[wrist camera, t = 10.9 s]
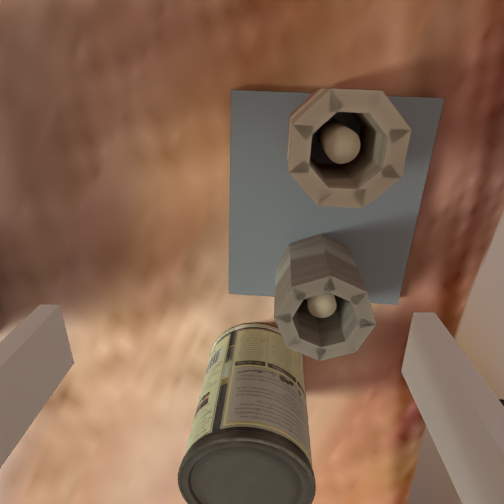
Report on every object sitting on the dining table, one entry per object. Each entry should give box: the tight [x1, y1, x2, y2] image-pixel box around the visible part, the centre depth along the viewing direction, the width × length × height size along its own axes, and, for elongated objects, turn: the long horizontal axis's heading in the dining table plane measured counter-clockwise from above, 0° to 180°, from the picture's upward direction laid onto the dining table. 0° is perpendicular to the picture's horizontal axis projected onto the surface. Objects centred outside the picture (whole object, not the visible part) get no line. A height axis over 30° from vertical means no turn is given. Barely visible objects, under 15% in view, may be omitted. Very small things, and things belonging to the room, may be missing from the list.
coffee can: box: [178, 323, 316, 504], centre depth 34 cm, size 10×10×14 cm
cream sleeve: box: [287, 88, 411, 208], centre depth 26 cm, size 7×7×8 cm
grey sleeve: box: [274, 234, 376, 361], centre depth 31 cm, size 7×7×8 cm
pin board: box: [229, 90, 444, 318], centre depth 30 cm, size 16×18×7 cm
